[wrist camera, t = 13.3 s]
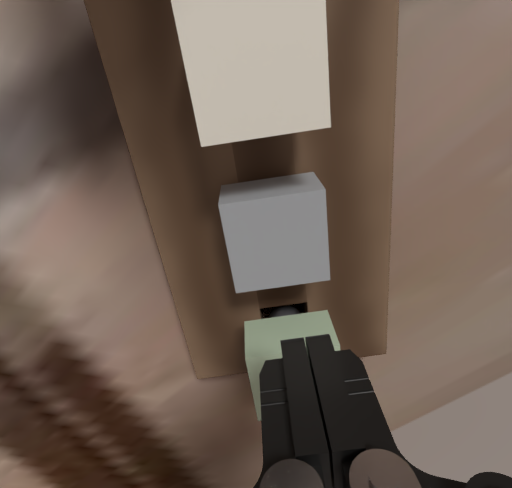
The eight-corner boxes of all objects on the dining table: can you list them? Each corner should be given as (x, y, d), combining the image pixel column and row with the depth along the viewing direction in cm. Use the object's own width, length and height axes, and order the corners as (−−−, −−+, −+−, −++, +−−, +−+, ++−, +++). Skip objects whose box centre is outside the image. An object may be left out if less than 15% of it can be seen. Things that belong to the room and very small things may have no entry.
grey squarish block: (305, 159, 21) (325, 188, 16) (310, 233, 24) (330, 280, 18) (223, 172, 21) (218, 204, 16) (236, 244, 24) (235, 293, 19)
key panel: (376, -46, 18) (401, -66, 15) (372, 326, 29) (386, 353, 26) (103, -1, 18) (80, -12, 15) (201, 350, 29) (197, 379, 26)
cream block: (297, -4, 16) (324, -36, 11) (305, 110, 19) (331, 127, 13) (190, 13, 16) (168, -11, 11) (211, 125, 19) (201, 147, 14)
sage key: (318, 284, 23) (340, 345, 18) (322, 341, 26) (342, 409, 21) (243, 295, 24) (244, 358, 18) (254, 351, 26) (258, 420, 21)
